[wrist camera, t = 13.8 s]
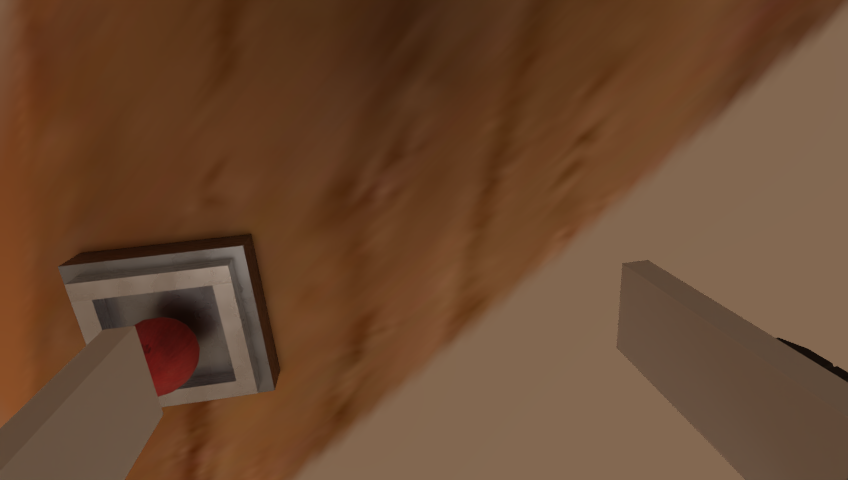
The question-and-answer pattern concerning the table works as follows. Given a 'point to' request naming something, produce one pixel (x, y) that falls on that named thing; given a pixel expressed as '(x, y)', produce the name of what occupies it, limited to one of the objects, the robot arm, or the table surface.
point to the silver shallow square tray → (185, 307)
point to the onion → (168, 352)
